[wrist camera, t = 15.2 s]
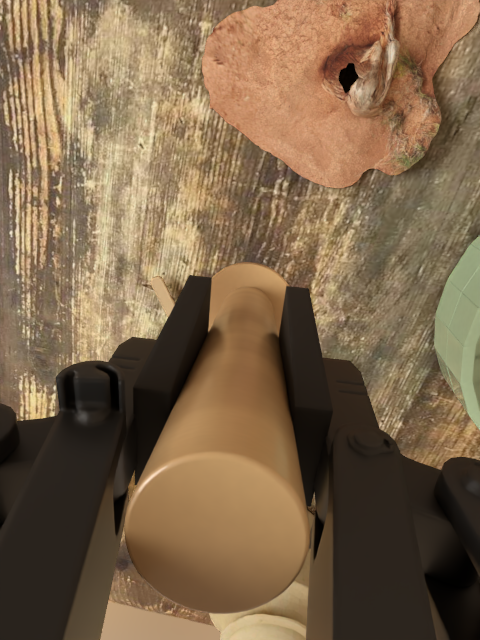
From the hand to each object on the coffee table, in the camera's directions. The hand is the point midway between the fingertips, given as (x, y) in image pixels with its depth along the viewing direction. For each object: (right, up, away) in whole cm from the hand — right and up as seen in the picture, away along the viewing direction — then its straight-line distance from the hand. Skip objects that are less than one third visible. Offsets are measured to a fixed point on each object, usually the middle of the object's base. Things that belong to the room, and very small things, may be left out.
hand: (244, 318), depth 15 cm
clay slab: (+6, +15, +13) cm, 21 cm away
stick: (0, 0, +7) cm, 7 cm away
